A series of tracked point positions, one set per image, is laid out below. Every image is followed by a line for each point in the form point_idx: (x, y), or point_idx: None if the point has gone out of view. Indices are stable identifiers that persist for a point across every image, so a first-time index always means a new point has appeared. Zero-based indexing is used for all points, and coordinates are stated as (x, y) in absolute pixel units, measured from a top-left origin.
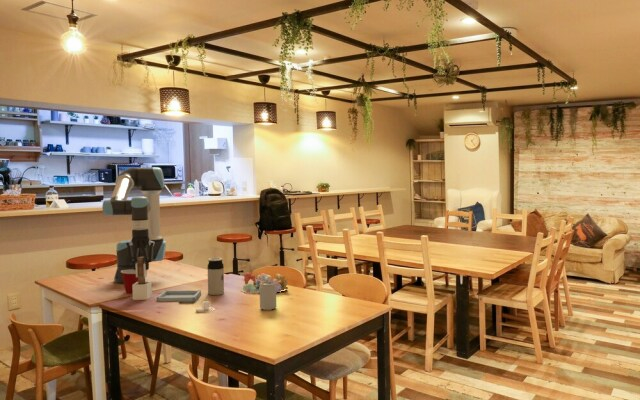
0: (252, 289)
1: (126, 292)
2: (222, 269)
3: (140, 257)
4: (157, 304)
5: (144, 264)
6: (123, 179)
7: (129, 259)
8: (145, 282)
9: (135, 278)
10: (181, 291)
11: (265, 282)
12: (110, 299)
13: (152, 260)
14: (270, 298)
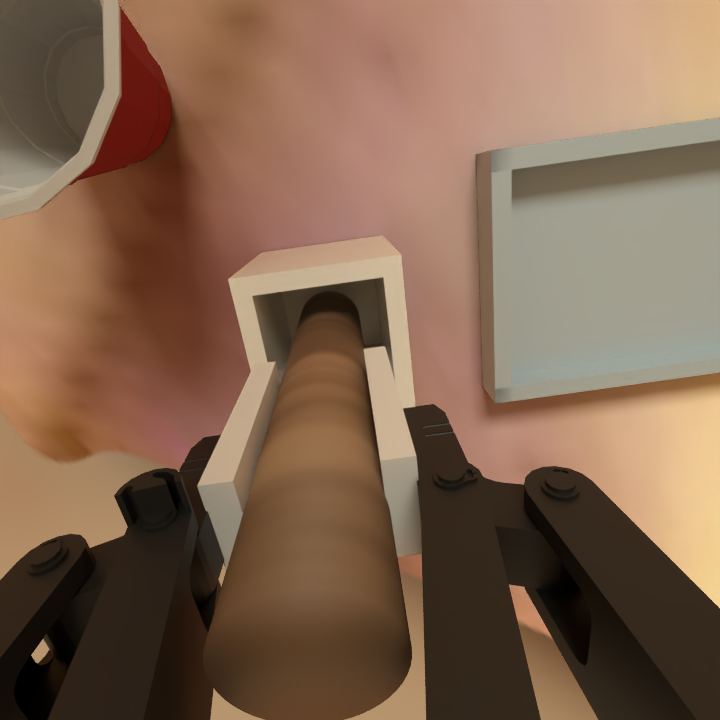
0: None
1: (76, 151)
2: None
3: (308, 683)
4: (499, 415)
5: (412, 545)
6: None
7: (46, 698)
8: (335, 282)
9: (110, 146)
10: (657, 147)
11: None
12: (70, 329)
13: (586, 494)
14: None
